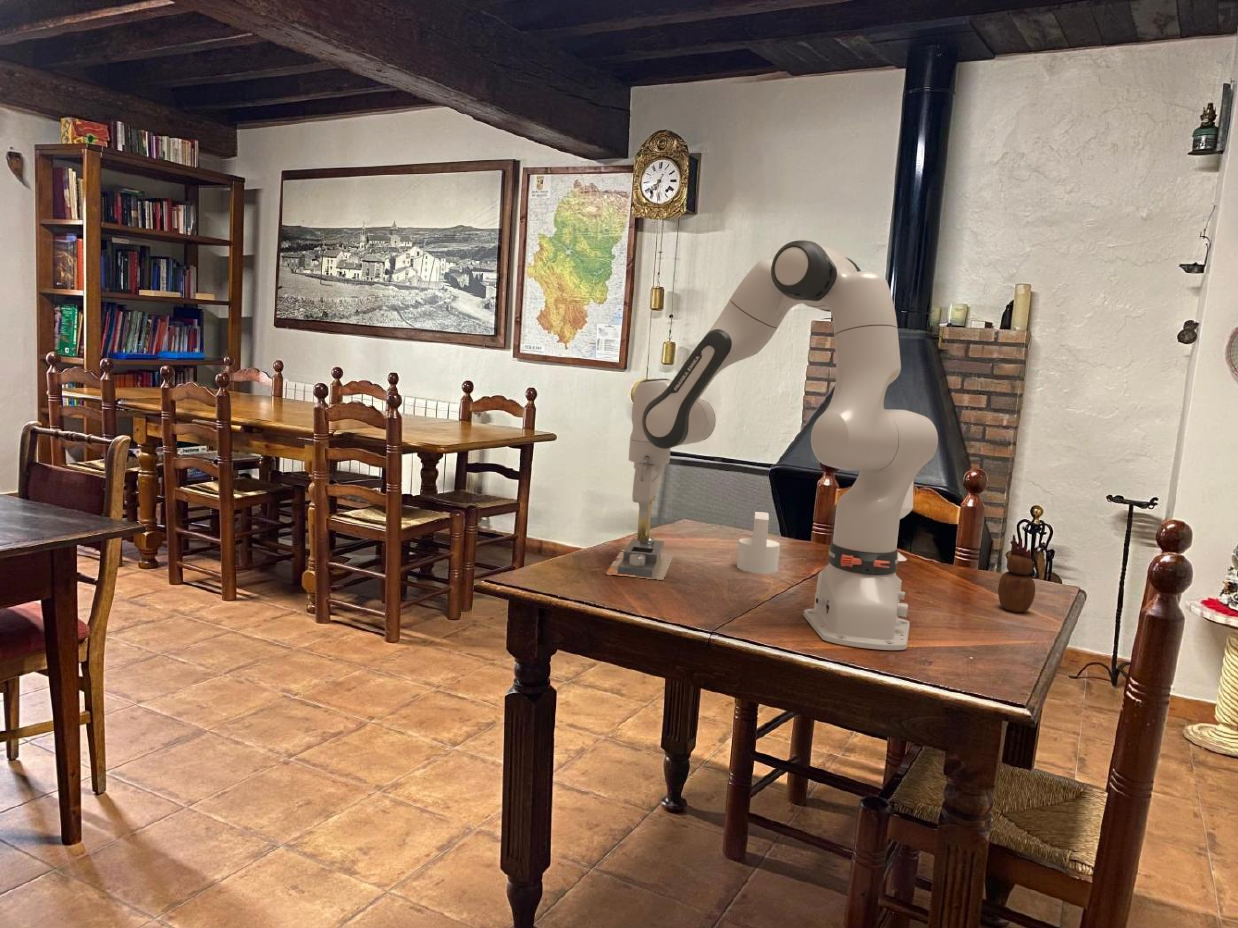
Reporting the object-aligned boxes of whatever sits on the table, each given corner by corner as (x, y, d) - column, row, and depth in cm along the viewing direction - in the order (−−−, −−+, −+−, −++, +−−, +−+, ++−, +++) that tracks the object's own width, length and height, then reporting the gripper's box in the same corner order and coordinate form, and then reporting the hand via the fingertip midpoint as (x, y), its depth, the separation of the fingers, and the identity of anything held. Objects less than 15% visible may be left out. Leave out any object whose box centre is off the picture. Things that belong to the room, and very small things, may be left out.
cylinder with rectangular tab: (777, 575, 195) (782, 521, 193) (736, 571, 196) (740, 517, 194) (777, 566, 203) (782, 514, 202) (737, 561, 205) (741, 510, 203)
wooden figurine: (990, 605, 182) (999, 533, 180) (1012, 604, 184) (1021, 532, 182) (1015, 615, 175) (1025, 540, 173) (1038, 614, 177) (1047, 540, 175)
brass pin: (650, 542, 193) (654, 497, 191) (632, 541, 193) (635, 495, 192) (653, 539, 196) (656, 494, 195) (635, 537, 197) (638, 492, 196)
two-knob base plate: (663, 581, 183) (664, 560, 183) (605, 574, 185) (606, 554, 184) (673, 556, 206) (675, 537, 205) (622, 550, 208) (623, 532, 207)
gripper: (658, 460, 182) (653, 527, 183) (668, 450, 202) (664, 510, 204) (627, 458, 183) (623, 524, 184) (641, 447, 203) (636, 507, 204)
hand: (644, 517), depth 194 cm, fingers closed on brass pin, 3 cm apart
